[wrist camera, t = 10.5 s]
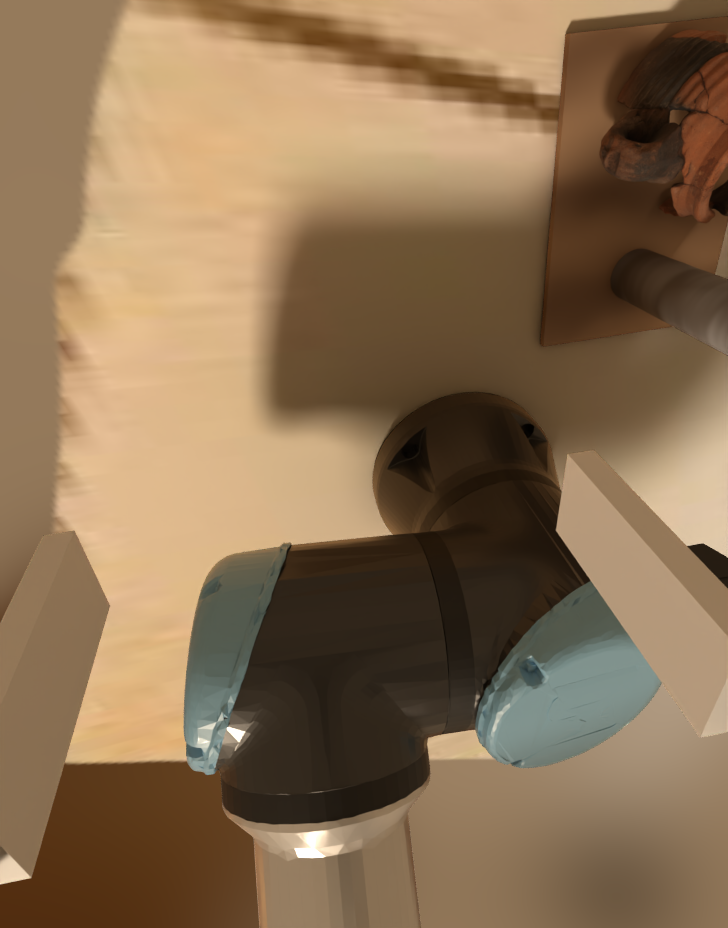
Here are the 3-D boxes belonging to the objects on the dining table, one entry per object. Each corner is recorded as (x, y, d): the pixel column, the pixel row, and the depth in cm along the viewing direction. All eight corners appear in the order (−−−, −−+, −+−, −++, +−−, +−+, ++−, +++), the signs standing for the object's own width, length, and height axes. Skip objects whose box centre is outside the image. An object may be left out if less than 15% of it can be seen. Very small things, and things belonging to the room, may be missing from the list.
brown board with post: (698, 319, 44) (835, 386, 34) (540, 343, 43) (631, 420, 33) (772, 11, 34) (1004, -30, 23) (565, 34, 33) (711, 1, 22)
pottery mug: (739, -8, 33) (867, 48, 29) (674, 151, 41) (766, 210, 37) (574, 58, 31) (688, 128, 27) (540, 212, 39) (624, 282, 35)
